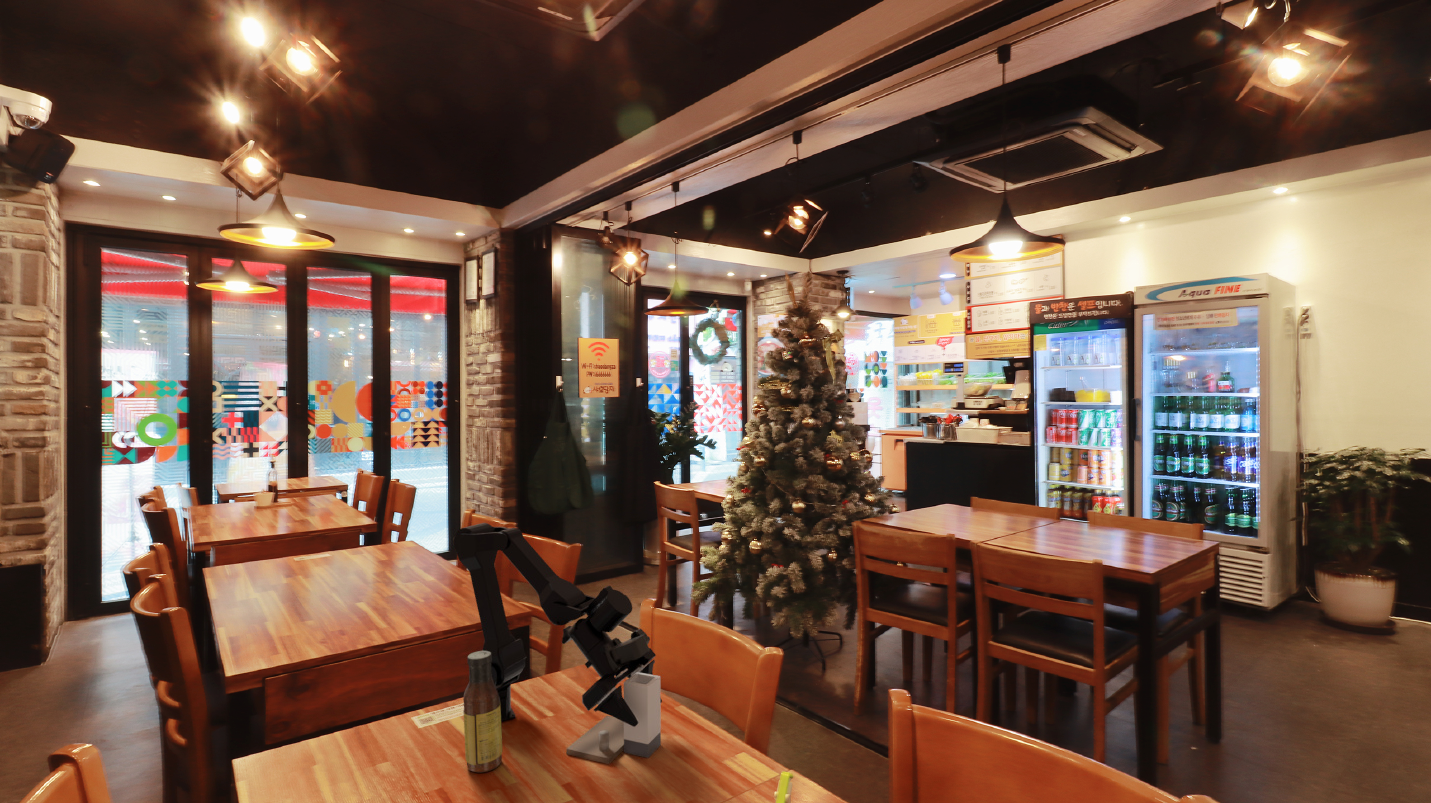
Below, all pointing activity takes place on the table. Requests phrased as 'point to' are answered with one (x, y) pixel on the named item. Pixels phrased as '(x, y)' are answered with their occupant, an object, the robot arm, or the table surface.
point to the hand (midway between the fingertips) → (648, 714)
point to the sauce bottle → (482, 716)
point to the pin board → (593, 741)
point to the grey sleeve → (643, 714)
